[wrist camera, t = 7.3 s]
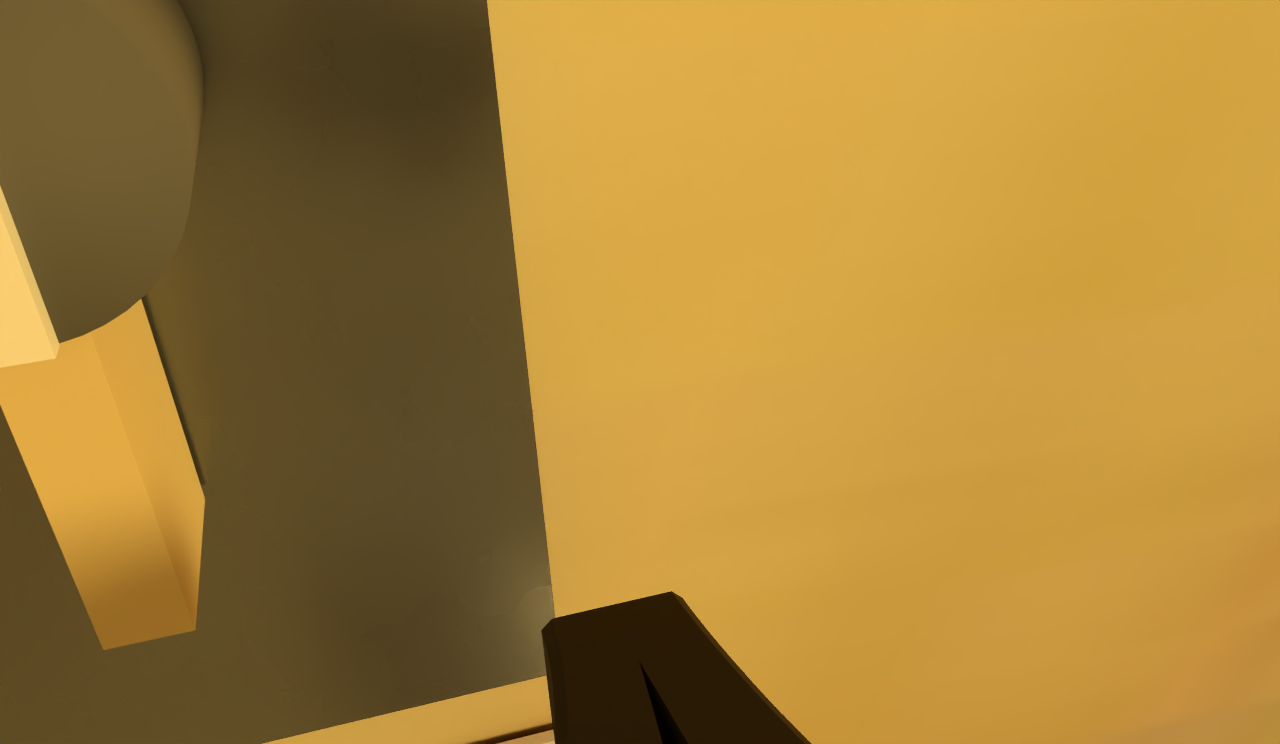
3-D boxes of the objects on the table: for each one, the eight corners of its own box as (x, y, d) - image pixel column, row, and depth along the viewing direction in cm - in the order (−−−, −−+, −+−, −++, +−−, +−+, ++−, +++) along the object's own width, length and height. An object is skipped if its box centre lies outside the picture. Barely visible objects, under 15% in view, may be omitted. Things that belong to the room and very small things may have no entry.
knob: (-266, -99, 12) (-423, -27, 10) (153, -133, 13) (122, -76, 11) (16, 535, 17) (-33, 705, 15) (307, 479, 18) (315, 629, 16)
